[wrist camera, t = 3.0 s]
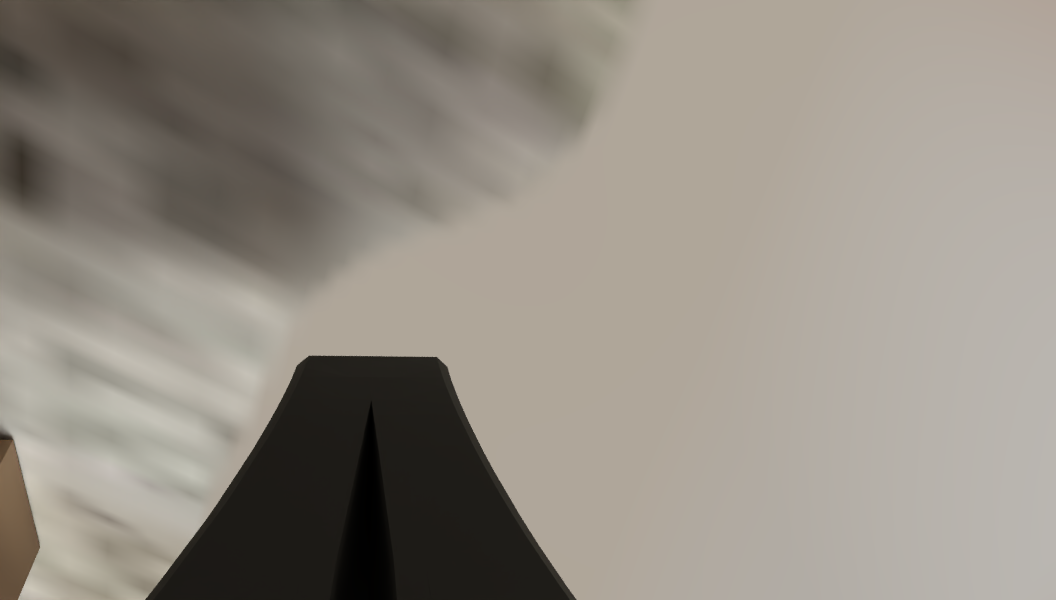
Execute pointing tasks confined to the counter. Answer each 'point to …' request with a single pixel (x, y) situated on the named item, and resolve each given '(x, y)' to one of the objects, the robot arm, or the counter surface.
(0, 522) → the rail
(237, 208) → the counter surface
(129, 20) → the counter surface
